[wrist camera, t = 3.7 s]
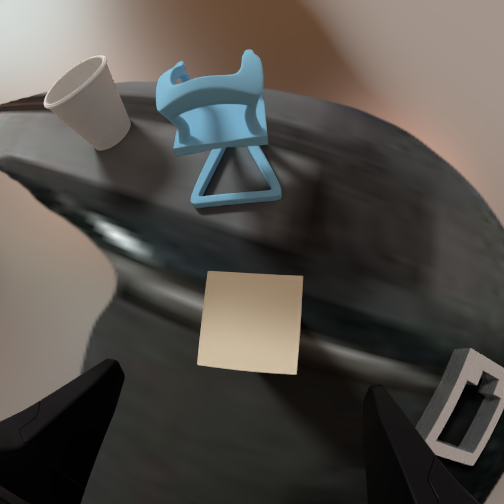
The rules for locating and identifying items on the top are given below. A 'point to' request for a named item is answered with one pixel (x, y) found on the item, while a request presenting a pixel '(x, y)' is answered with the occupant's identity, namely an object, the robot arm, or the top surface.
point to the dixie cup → (90, 103)
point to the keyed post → (251, 322)
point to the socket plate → (446, 396)
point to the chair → (219, 123)
